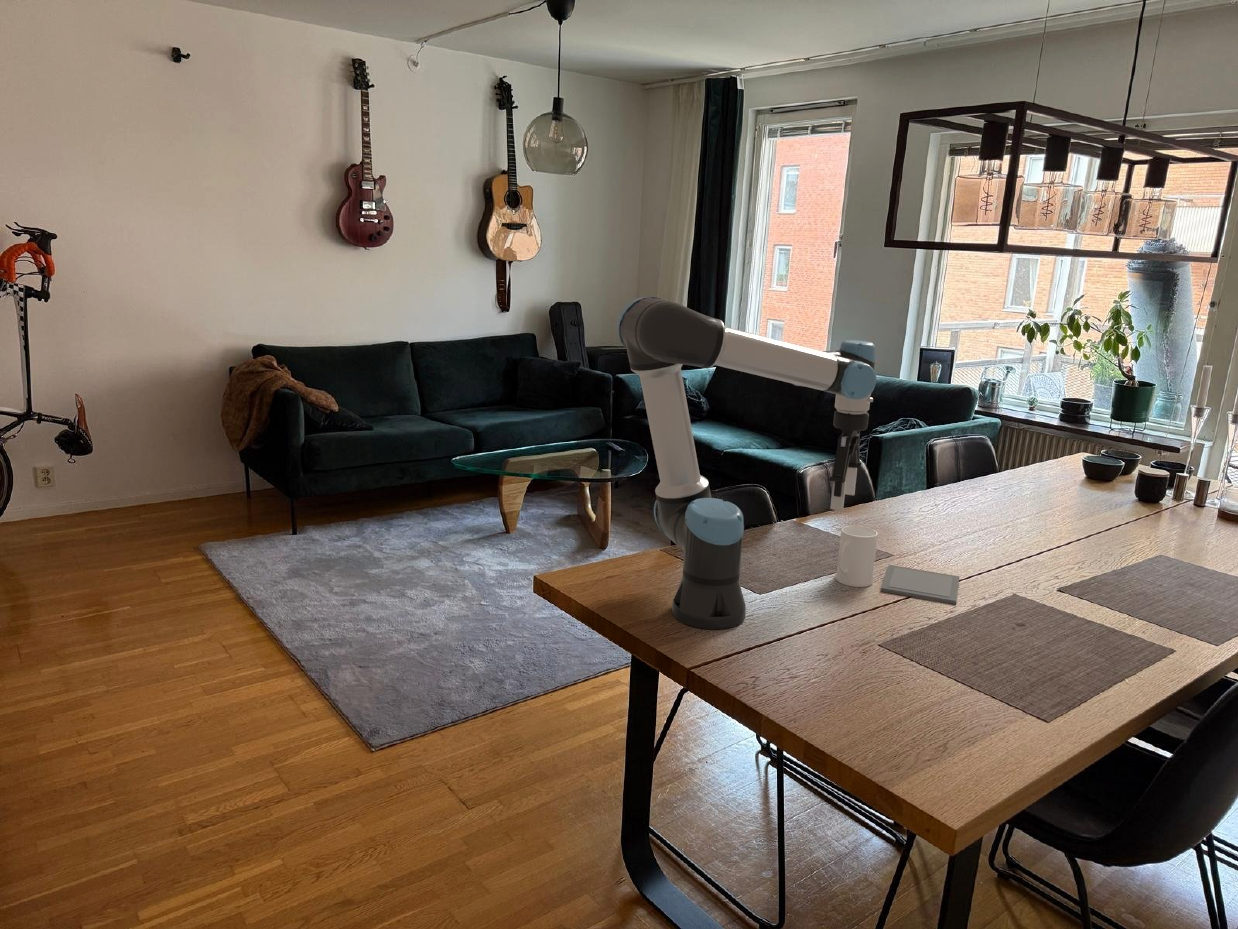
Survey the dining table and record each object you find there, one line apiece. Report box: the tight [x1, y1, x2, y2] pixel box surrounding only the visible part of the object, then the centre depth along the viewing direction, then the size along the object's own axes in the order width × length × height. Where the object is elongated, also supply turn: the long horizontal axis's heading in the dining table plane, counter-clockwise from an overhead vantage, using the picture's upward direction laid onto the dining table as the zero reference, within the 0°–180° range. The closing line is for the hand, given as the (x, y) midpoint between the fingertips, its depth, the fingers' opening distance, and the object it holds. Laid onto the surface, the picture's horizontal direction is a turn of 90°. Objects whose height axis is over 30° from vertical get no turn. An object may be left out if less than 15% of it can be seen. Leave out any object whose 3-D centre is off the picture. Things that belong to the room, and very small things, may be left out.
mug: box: [834, 525, 878, 588], centre depth 202 cm, size 12×8×12 cm
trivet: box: [880, 564, 960, 605], centre depth 203 cm, size 16×16×1 cm
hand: (842, 501), depth 203 cm, fingers open, 13 cm apart
